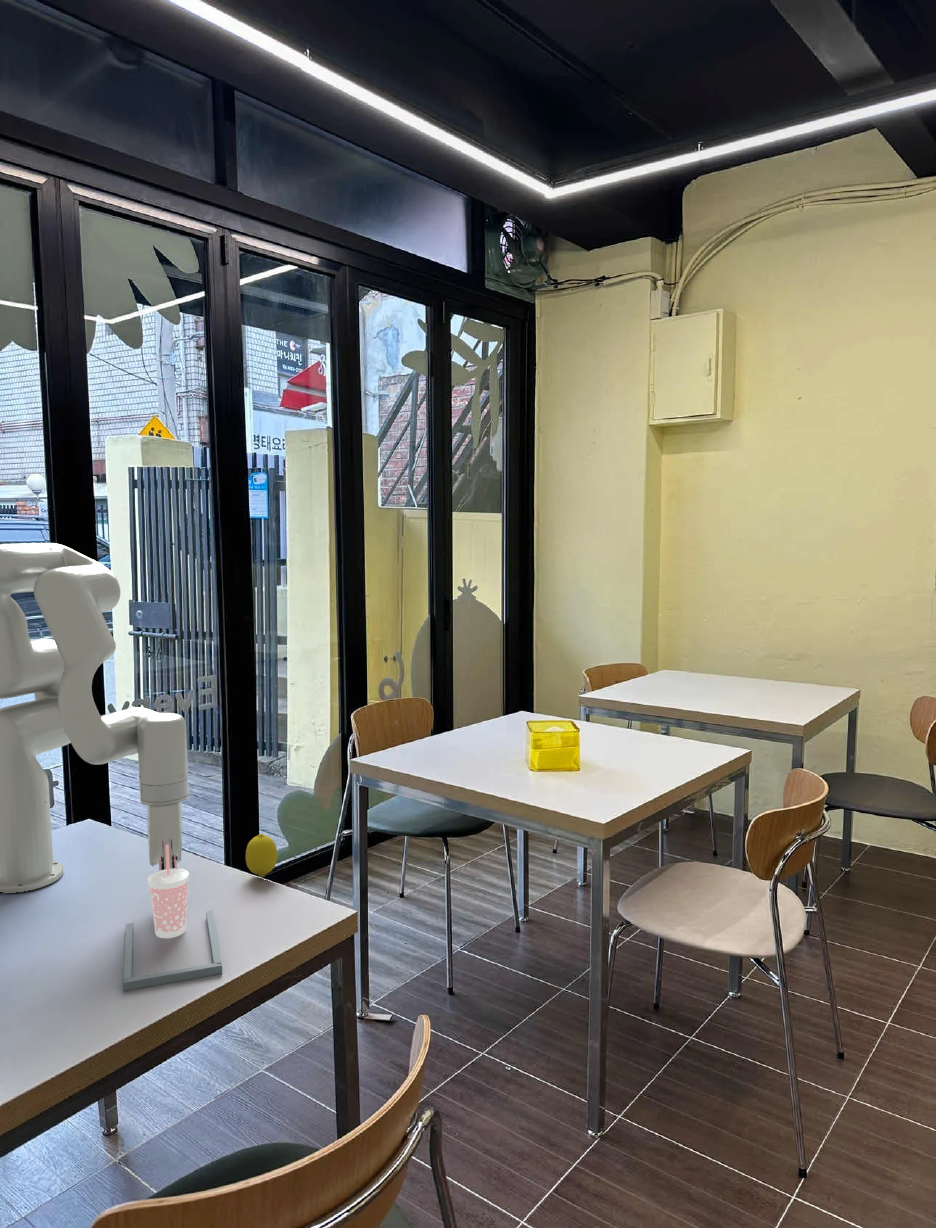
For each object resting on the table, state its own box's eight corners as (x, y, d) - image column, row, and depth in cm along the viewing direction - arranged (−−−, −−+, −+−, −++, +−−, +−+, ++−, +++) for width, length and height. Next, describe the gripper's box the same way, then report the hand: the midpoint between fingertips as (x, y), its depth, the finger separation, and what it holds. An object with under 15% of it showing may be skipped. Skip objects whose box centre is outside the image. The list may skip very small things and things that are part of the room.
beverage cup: (149, 925, 137) (145, 840, 135) (190, 919, 139) (186, 835, 137) (150, 943, 131) (146, 854, 129) (192, 936, 133) (189, 849, 132)
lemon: (265, 868, 159) (263, 826, 158) (284, 875, 156) (283, 833, 155) (240, 877, 155) (238, 834, 154) (259, 885, 151) (257, 842, 151)
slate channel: (126, 930, 135) (126, 923, 135) (212, 917, 139) (212, 910, 139) (123, 990, 118) (123, 982, 118) (222, 973, 122) (222, 965, 122)
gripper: (139, 779, 146) (144, 883, 148) (139, 806, 132) (145, 921, 134) (186, 774, 149) (190, 876, 151) (191, 800, 135) (195, 913, 137)
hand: (169, 897), depth 142 cm, fingers closed
